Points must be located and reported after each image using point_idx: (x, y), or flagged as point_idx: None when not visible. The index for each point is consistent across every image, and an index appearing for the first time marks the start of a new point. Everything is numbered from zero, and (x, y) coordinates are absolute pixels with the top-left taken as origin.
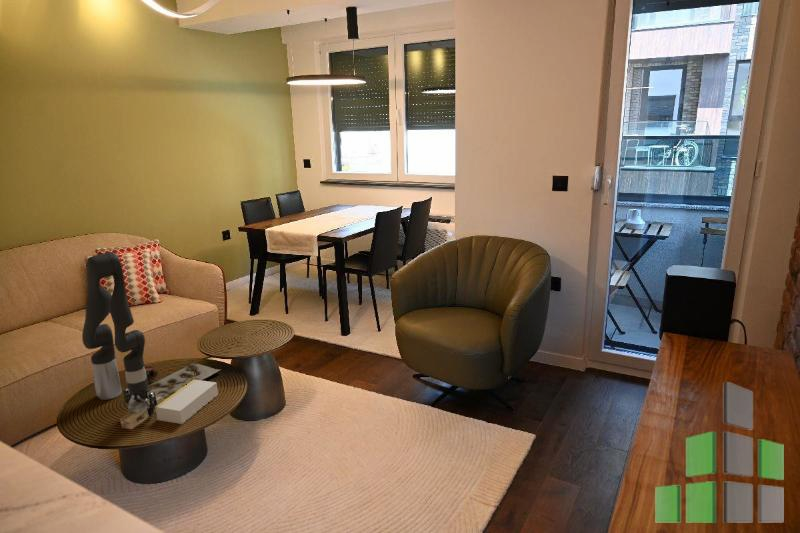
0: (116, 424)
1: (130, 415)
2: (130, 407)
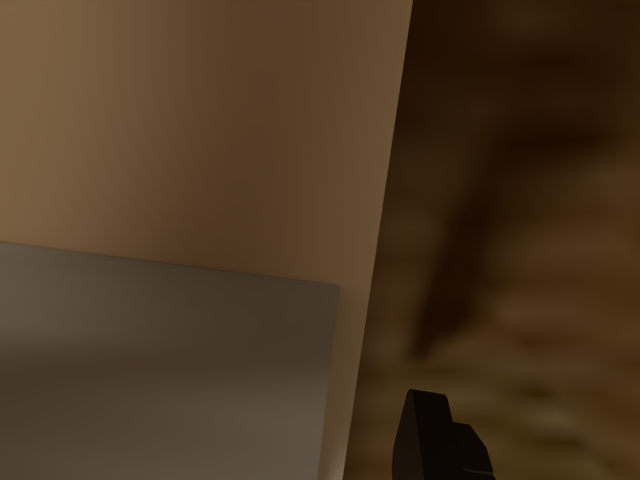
0: (622, 39)
1: (169, 125)
2: (171, 437)
